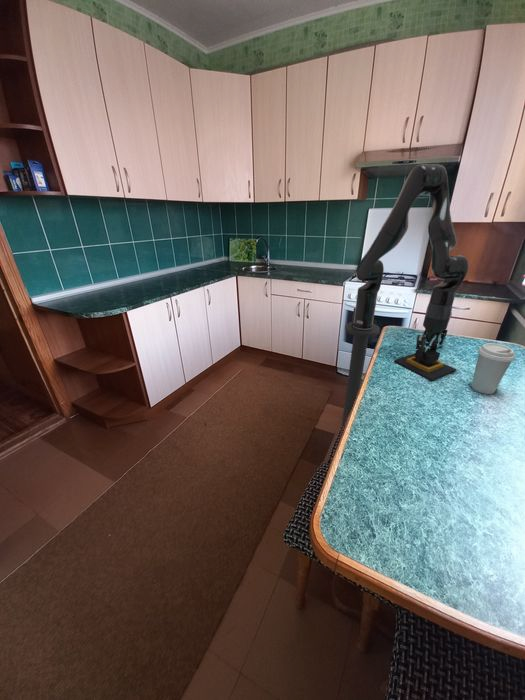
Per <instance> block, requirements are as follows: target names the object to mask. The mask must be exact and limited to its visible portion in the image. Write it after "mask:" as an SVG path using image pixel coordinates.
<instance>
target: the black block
mask: <svg viewBox="0 0 525 700" xmlns="http://www.w3.org/2000/svg"><path fill="white" fill-rule="evenodd" d="M425 347H426V346H425ZM425 347H424V348H425ZM419 352H420V350H418V349H416V350H415V352H414V353H415V357H416V358H418V356H419ZM440 355H441V352H439V351H434V350H432V349H430V348H429V347H428V349H427V352H426V356H425V359H424V360H422V361H424V362H426V363H432V362H434V361H437V360H438V361H439V359H440Z"/></svg>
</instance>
